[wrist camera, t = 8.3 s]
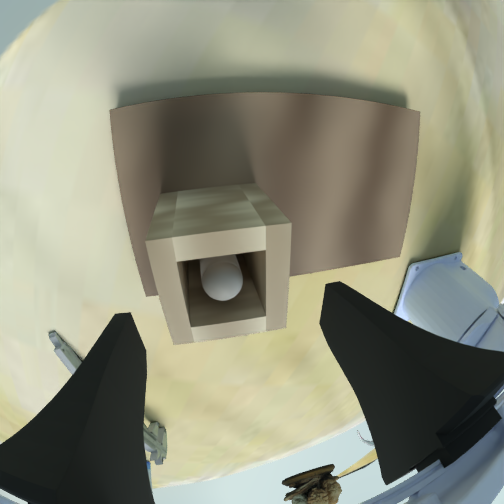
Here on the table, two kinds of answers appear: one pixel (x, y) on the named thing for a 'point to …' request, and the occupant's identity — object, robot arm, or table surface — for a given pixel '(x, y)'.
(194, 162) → the brown board with peg
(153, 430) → the caliper
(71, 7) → the table surface
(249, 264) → the hollow square tube
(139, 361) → the robot arm
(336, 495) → the owl figurine
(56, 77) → the table surface
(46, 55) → the table surface
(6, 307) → the table surface
